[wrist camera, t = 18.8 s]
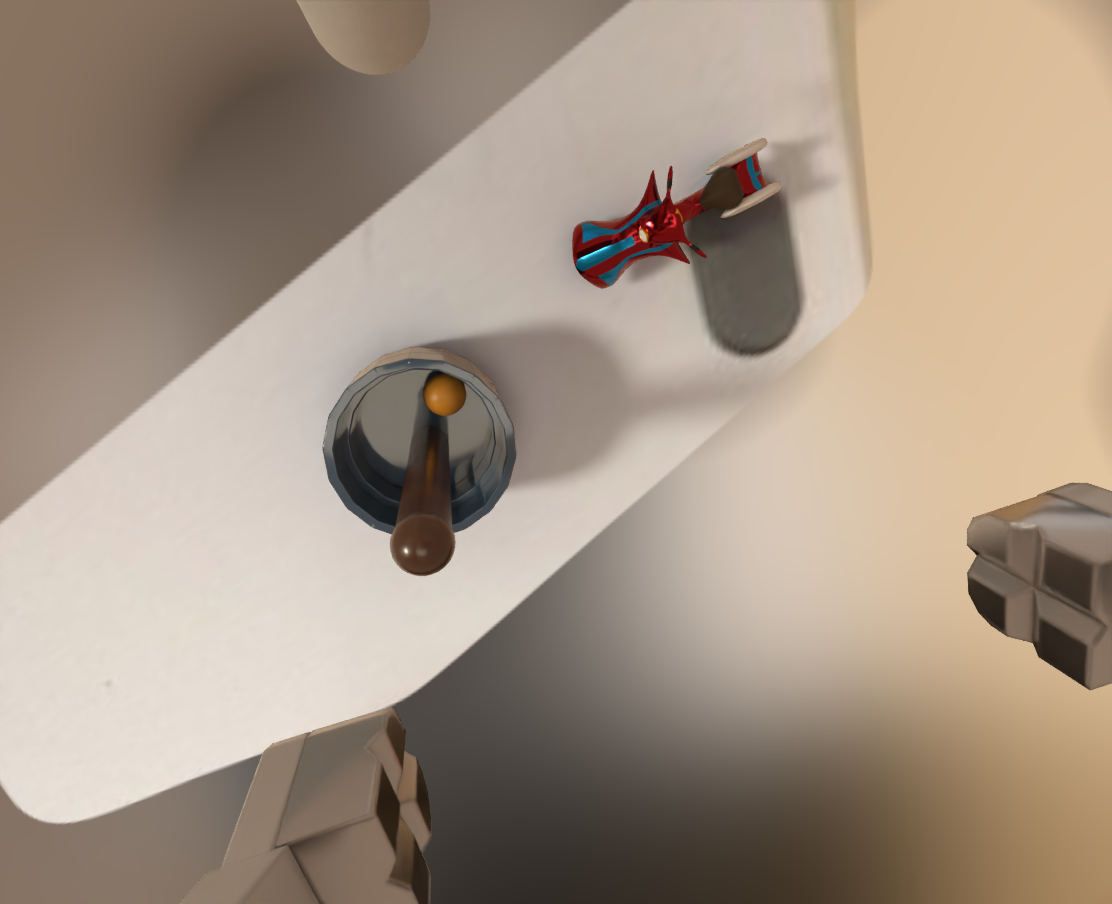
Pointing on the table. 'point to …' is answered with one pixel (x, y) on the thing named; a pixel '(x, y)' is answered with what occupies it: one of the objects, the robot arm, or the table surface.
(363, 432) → the bowl
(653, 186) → the hoverbike
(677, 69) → the table surface
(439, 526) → the stick
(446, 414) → the bead
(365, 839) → the robot arm
